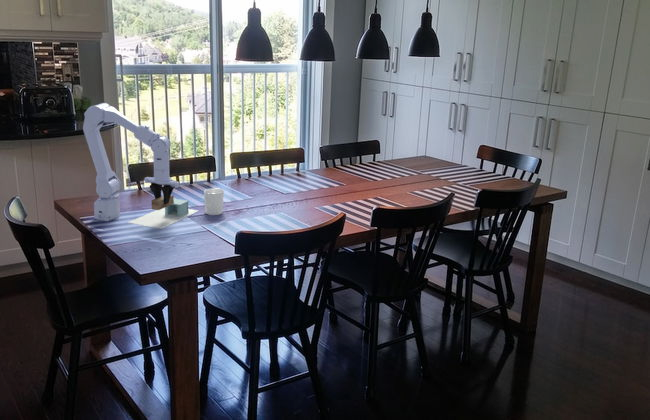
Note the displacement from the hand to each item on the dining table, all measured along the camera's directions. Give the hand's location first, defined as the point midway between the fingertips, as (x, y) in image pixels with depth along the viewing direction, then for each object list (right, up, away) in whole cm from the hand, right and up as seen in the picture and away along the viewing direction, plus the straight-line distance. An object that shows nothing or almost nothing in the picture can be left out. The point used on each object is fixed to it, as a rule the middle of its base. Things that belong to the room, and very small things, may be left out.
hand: (162, 203), depth 233 cm
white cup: (+17, -5, +15) cm, 23 cm away
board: (-1, -6, +7) cm, 9 cm away
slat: (0, -1, +1) cm, 1 cm away
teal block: (+3, -4, +11) cm, 12 cm away
